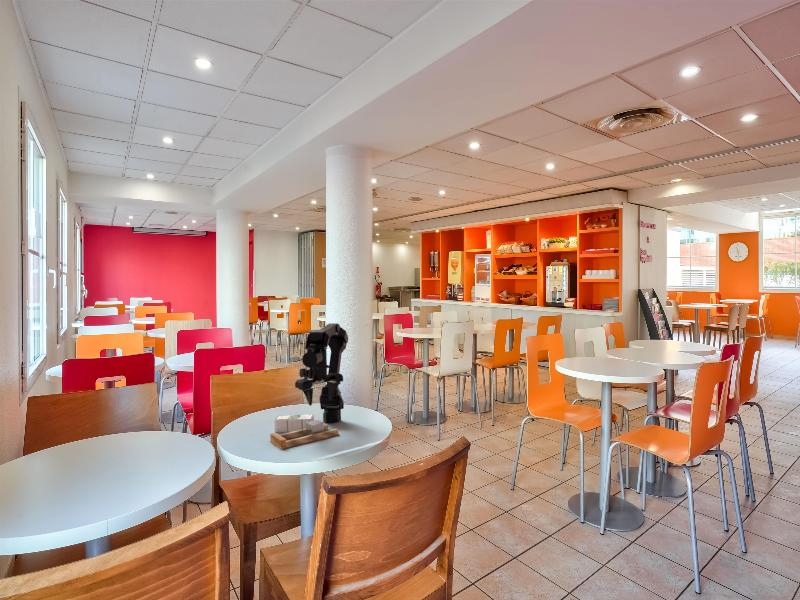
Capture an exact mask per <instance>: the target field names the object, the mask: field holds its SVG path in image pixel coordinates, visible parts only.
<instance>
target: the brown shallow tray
mask: <svg viewBox="0 0 800 600" xmlns="http://www.w3.org/2000/svg"><path fill="white" fill-rule="evenodd" d="M269 436H270V437H269V438H270V440H269V443H271V444H273V445H274V446H276V447H277V448H279V449H281V450H282V451H284V450H288V449H291V448H294V447H300V446H304V445H308V444H312V443H316V442H320V441H324V440H328V439H332V438H336V437H340V436H341V435H340V433H339V429H338V428H334V429H329V424H328V423H327V424H326V423H324V432H321V433H317V434H312V435H308V436H306V429H302V430H297V431H292V432H283V433H282V434H278V432H274V433H270V434H269Z"/></svg>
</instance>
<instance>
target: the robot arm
mask: <svg viewBox="0 0 800 600" xmlns="http://www.w3.org/2000/svg"><path fill="white" fill-rule="evenodd" d="M348 343H349V335H348V332H347V330H345V329H344V328H342V326H341V325H340V323H338V322H337V323H334V322H333V323H332V322H331V323H326V325H324V327H322V328H320V329H311V330H309V332H308V333H307V337H306V341H305V346H304V349H305V350H306V352H305V353H304V354H303V356H302V358H301V360H302V364H303V365H304V366H305V367H304V368H301V369H299V377H300V379H296V381H295V382H294V384H295V385H294V388H296V389H298V390H300V391H302V392H303V394H304V396H305V398H306V401H307V403H308V405H309V406H310V407H311V406H312V405H313V396H314V388H312V387H313V385H318V384H322V383H326V384H325V386H322V388H321V392H320V396H319V405H320V410H323V413H322V419H323V420H322V422H323V423H324V424H328V425H329V424H337V423H339V422H341V421H342V411H341V410H344V409H345V408H344V407H345V403H344V400H343V399H344V398H343V397H342V391H341V389H340V388H339V385H341V384H342V382H344V376H343V374H342V373H341V371H340V369H341V360H342V353H344V351H345V350H346V348H347V344H348ZM328 347H329V349H330V355H329V356H330V357H329V364H328V362H327V361H328V358H327V356H328V353H327V349H328ZM306 368H309V369H306Z"/></svg>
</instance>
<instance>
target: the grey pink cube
mask: <svg viewBox="0 0 800 600" xmlns="http://www.w3.org/2000/svg"><path fill="white" fill-rule="evenodd" d="M324 424H325V423H324V422H323V421H320V420H318V419H314V421H310V422H306V436H308V435H312V434H317V433H321V432H324Z"/></svg>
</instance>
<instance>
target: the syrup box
mask: <svg viewBox="0 0 800 600" xmlns="http://www.w3.org/2000/svg"><path fill="white" fill-rule="evenodd" d="M314 415H315V414H293V415H292V414H289V415H288V414H287V415H285V414H284V415H277V416H276V418H275V419H274V433H282V432H283V433H289V432H293V431H297V430H302V429H306V422H310V421H315V416H314Z"/></svg>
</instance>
